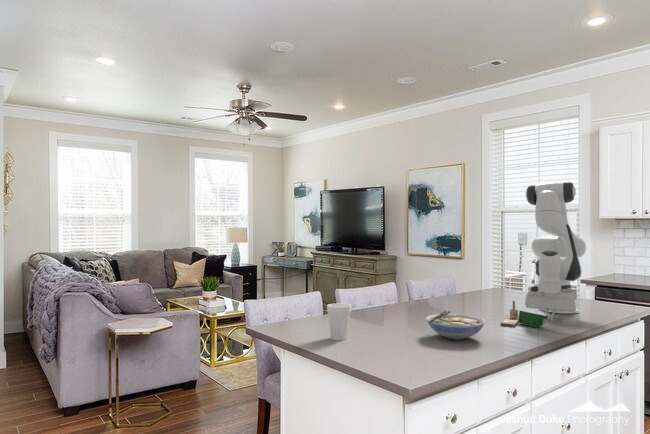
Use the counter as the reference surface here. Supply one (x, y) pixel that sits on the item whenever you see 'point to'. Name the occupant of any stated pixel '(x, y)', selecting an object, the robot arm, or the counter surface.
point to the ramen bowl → (455, 325)
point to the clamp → (531, 319)
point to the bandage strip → (509, 322)
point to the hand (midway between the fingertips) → (550, 319)
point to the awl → (513, 312)
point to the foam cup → (339, 320)
